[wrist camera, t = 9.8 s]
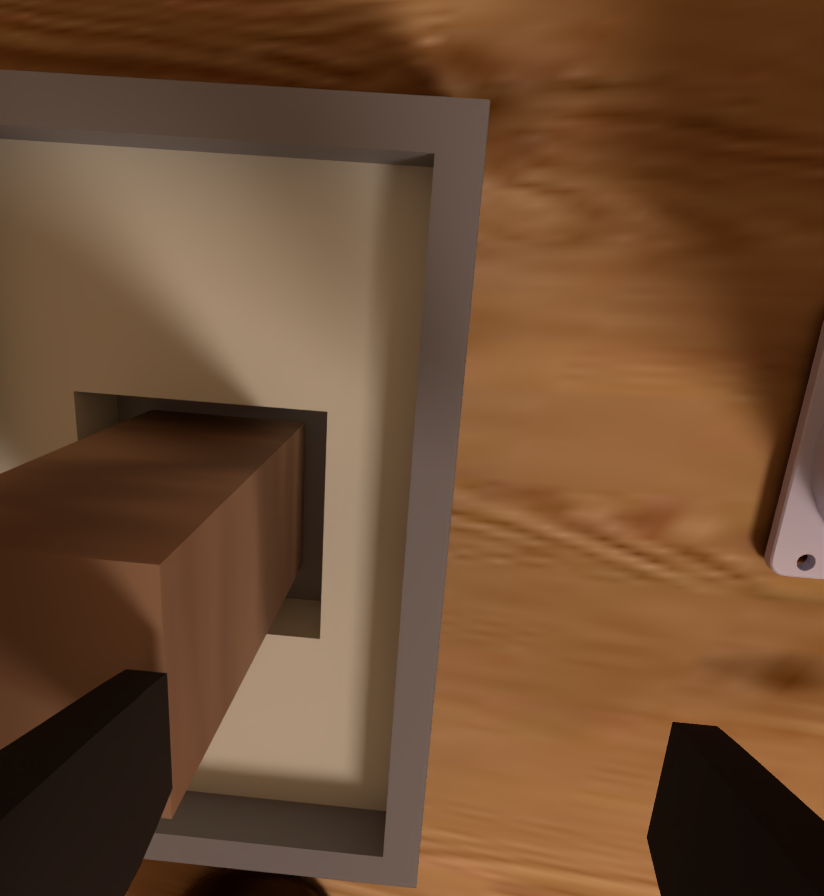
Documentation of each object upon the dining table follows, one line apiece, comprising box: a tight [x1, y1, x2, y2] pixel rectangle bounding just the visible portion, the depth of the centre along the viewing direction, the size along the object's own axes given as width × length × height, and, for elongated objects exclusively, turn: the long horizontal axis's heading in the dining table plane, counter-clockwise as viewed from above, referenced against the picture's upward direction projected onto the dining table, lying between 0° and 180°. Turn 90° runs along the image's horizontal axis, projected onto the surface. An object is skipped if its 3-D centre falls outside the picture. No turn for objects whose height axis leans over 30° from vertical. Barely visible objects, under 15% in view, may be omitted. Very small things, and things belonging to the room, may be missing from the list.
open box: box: [0, 69, 490, 888], centre depth 16 cm, size 13×20×4 cm, turn 176°
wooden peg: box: [0, 410, 305, 819], centre depth 13 cm, size 4×4×9 cm
